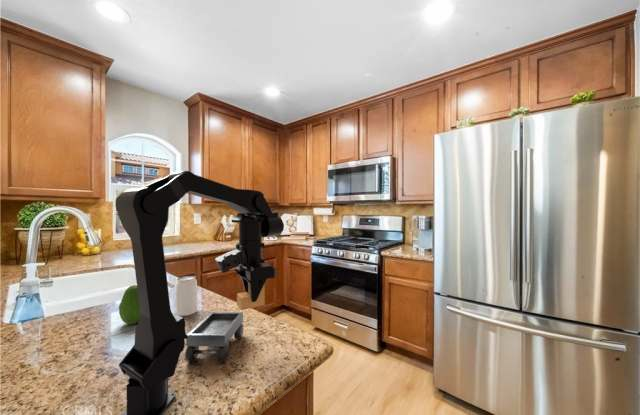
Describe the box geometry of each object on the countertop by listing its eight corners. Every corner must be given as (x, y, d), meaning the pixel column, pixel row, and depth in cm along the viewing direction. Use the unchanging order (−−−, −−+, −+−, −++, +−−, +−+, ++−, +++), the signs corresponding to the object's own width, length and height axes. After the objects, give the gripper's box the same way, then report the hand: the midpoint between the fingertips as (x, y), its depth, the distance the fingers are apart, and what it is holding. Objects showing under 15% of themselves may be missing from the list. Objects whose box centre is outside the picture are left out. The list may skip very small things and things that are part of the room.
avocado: (114, 330, 76) (113, 289, 76) (126, 319, 84) (126, 282, 84) (145, 327, 78) (144, 287, 78) (154, 316, 86) (153, 280, 86)
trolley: (223, 365, 59) (223, 336, 59) (184, 365, 59) (184, 336, 59) (243, 334, 73) (243, 311, 73) (212, 334, 74) (212, 311, 74)
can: (188, 317, 85) (188, 281, 85) (171, 316, 86) (171, 280, 86) (201, 309, 91) (201, 276, 91) (185, 308, 93) (185, 275, 93)
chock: (259, 300, 71) (259, 278, 71) (264, 304, 67) (264, 282, 67) (237, 305, 67) (236, 282, 67) (241, 310, 64) (241, 286, 64)
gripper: (210, 238, 71) (210, 295, 71) (227, 246, 55) (228, 319, 55) (250, 235, 77) (250, 287, 77) (276, 242, 61) (277, 308, 61)
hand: (251, 299), depth 67 cm, fingers closed on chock, 4 cm apart
